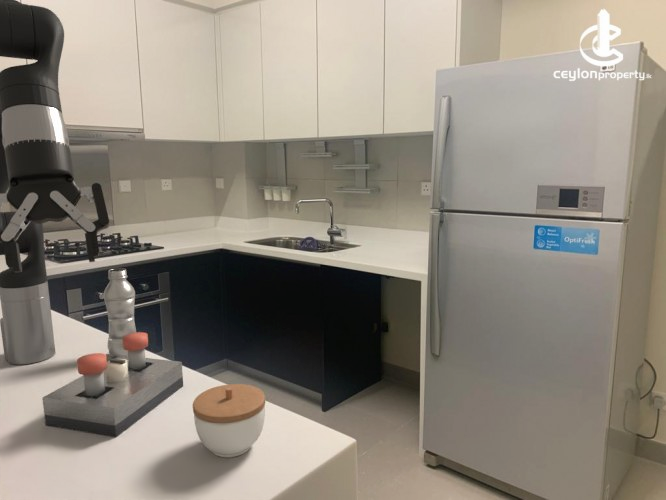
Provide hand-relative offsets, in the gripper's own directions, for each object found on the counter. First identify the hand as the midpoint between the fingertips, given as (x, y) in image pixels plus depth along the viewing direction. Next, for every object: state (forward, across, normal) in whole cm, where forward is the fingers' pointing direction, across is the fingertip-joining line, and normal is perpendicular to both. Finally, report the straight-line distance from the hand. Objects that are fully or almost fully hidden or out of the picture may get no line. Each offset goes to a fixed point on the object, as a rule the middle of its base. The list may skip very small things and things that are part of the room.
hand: (55, 266), depth 64 cm
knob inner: (+17, -9, -30) cm, 35 cm away
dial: (+18, -5, -26) cm, 32 cm away
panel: (+23, -5, -27) cm, 36 cm away
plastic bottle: (+16, -7, -51) cm, 54 cm away
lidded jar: (+31, -19, -6) cm, 37 cm away
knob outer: (+19, -1, -22) cm, 29 cm away
